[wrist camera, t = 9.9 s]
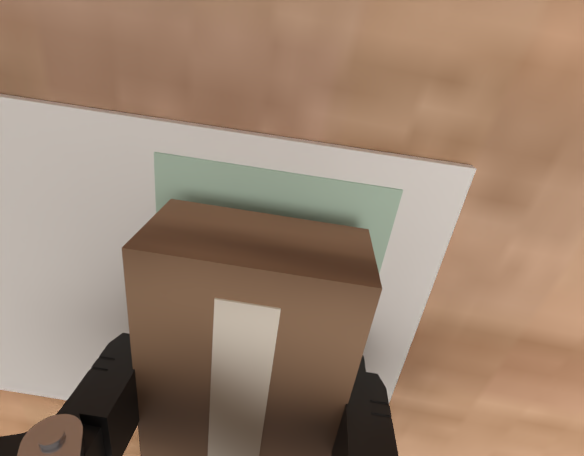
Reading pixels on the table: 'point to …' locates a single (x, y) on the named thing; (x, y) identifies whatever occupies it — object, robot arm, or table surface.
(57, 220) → the white flat board
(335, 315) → the walnut tile
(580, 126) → the table surface
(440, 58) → the table surface
